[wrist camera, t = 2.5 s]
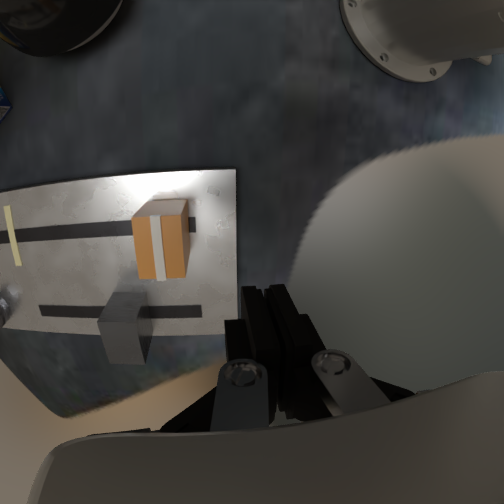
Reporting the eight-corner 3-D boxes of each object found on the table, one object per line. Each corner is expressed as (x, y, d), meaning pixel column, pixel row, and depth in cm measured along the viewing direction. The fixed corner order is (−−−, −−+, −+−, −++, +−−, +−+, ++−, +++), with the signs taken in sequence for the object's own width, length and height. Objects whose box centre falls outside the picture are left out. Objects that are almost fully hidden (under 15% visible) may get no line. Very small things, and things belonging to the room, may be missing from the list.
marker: (10, 204, 20) (9, 205, 20) (22, 265, 22) (21, 265, 22) (4, 205, 20) (3, 206, 19) (16, 265, 22) (16, 265, 22)
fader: (187, 198, 21) (180, 214, 17) (190, 252, 23) (185, 279, 19) (146, 200, 21) (130, 217, 17) (152, 253, 23) (138, 281, 18)
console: (234, 166, 23) (240, 177, 17) (236, 320, 28) (242, 367, 22) (-33, 197, 20) (-73, 215, 14) (-2, 316, 25) (-29, 349, 19)
